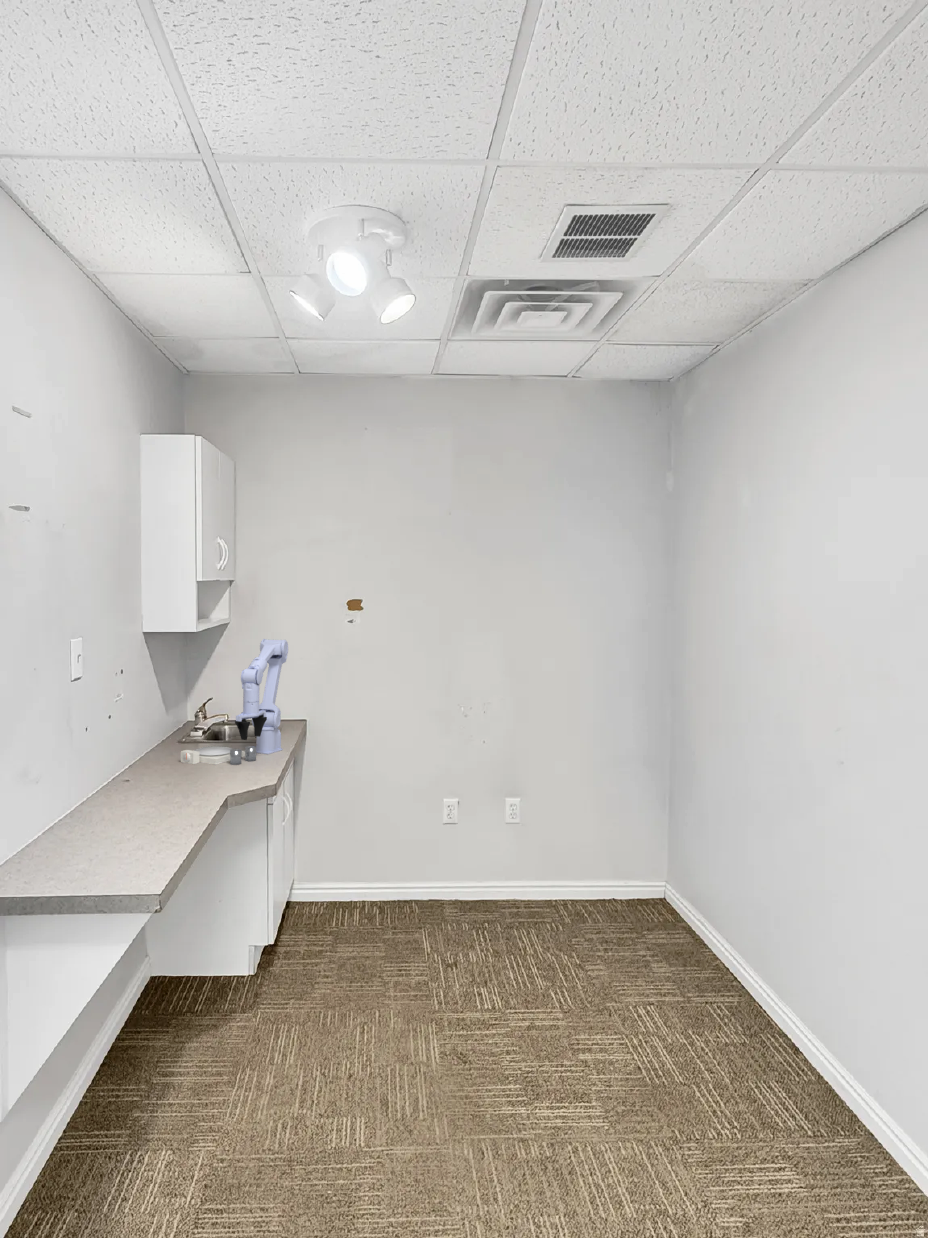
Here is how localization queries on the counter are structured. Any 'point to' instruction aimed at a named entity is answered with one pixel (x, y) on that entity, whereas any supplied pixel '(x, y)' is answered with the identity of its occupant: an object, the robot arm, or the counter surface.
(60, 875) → the counter surface
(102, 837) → the counter surface
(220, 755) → the scale
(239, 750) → the cylinder
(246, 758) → the cylinder
